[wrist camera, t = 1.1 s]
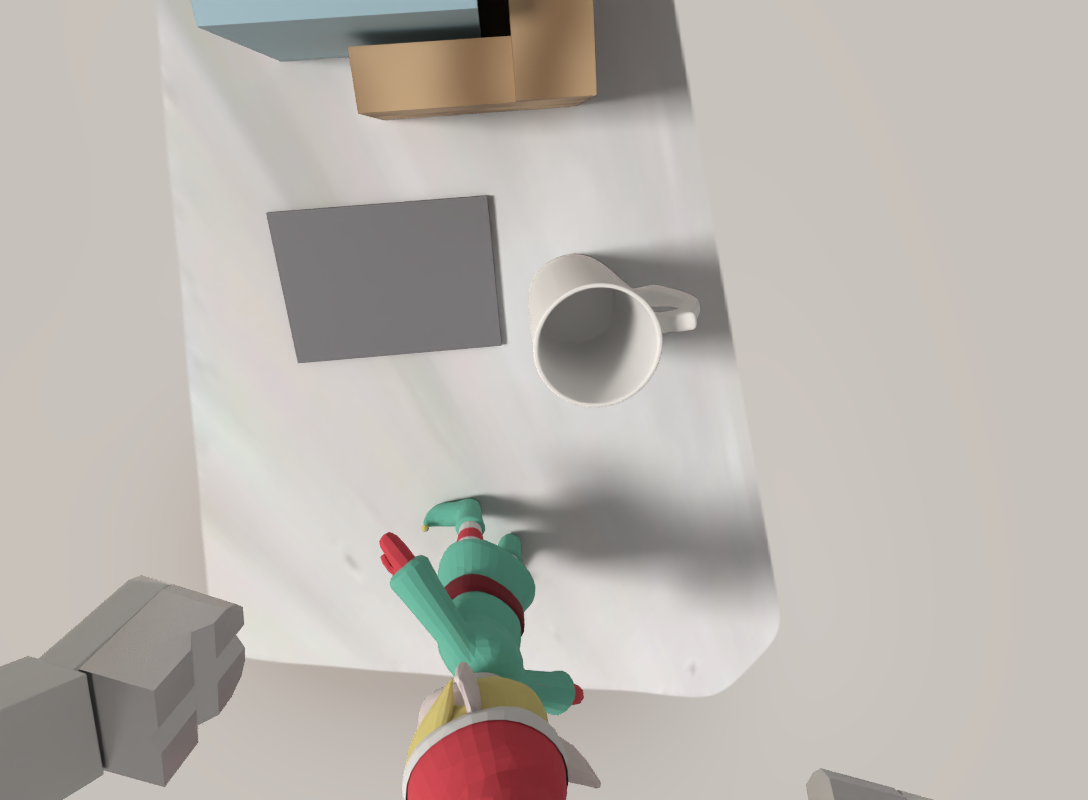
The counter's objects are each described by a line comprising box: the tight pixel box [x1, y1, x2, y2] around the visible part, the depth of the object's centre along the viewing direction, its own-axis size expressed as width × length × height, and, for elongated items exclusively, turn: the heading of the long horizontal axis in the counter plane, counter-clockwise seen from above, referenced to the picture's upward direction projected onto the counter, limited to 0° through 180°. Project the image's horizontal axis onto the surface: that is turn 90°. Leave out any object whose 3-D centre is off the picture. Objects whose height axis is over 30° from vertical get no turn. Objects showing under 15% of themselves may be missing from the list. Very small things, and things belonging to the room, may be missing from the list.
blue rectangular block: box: [191, 0, 481, 61], centre depth 34 cm, size 12×3×12 cm, turn 94°
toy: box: [379, 499, 601, 800], centre depth 37 cm, size 17×8×30 cm, turn 42°
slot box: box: [348, 0, 597, 120], centre depth 35 cm, size 12×10×9 cm
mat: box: [266, 195, 501, 363], centre depth 44 cm, size 14×10×1 cm
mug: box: [528, 254, 700, 407], centre depth 40 cm, size 10×7×12 cm, turn 100°
